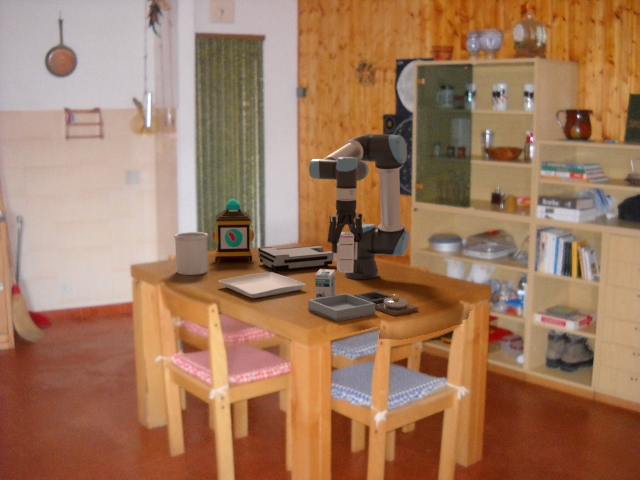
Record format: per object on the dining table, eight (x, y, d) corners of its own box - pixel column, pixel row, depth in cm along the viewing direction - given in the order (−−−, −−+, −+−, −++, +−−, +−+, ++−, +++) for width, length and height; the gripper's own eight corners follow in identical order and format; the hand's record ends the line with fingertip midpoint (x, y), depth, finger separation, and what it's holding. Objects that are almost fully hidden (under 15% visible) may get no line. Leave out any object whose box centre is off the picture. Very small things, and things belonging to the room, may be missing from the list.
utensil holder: (173, 269, 359) (172, 232, 356) (205, 267, 363) (204, 230, 360) (177, 276, 345) (176, 237, 342) (211, 274, 350) (210, 236, 346)
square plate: (217, 288, 326) (216, 279, 326) (271, 279, 343) (271, 270, 342) (251, 302, 305) (251, 292, 305) (307, 292, 322) (307, 282, 321)
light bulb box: (331, 301, 305) (331, 275, 303) (314, 300, 307) (314, 274, 305) (335, 295, 316) (335, 269, 314) (319, 294, 317) (319, 268, 315)
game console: (337, 267, 367) (337, 250, 365) (275, 273, 353) (275, 256, 351) (318, 259, 385) (318, 242, 384) (258, 264, 371) (258, 248, 370)
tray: (308, 310, 293) (308, 299, 292) (345, 303, 303) (346, 293, 303) (336, 321, 279) (336, 310, 278) (375, 313, 289) (375, 303, 288)
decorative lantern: (253, 255, 392) (252, 196, 387) (255, 263, 373) (254, 201, 367) (213, 255, 389) (212, 196, 384) (213, 264, 370) (212, 202, 365)
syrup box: (353, 272, 287) (355, 234, 284) (337, 272, 286) (339, 234, 284) (351, 269, 292) (352, 231, 290) (336, 269, 292) (337, 231, 289)
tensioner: (353, 301, 306) (353, 286, 305) (376, 296, 313) (376, 282, 312) (393, 315, 287) (394, 300, 285) (417, 310, 293) (418, 295, 292)
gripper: (329, 202, 276) (329, 265, 280) (374, 198, 287) (372, 258, 291) (317, 200, 281) (316, 261, 286) (361, 196, 293) (360, 255, 297)
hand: (345, 260), depth 289 cm, fingers closed on syrup box, 8 cm apart
